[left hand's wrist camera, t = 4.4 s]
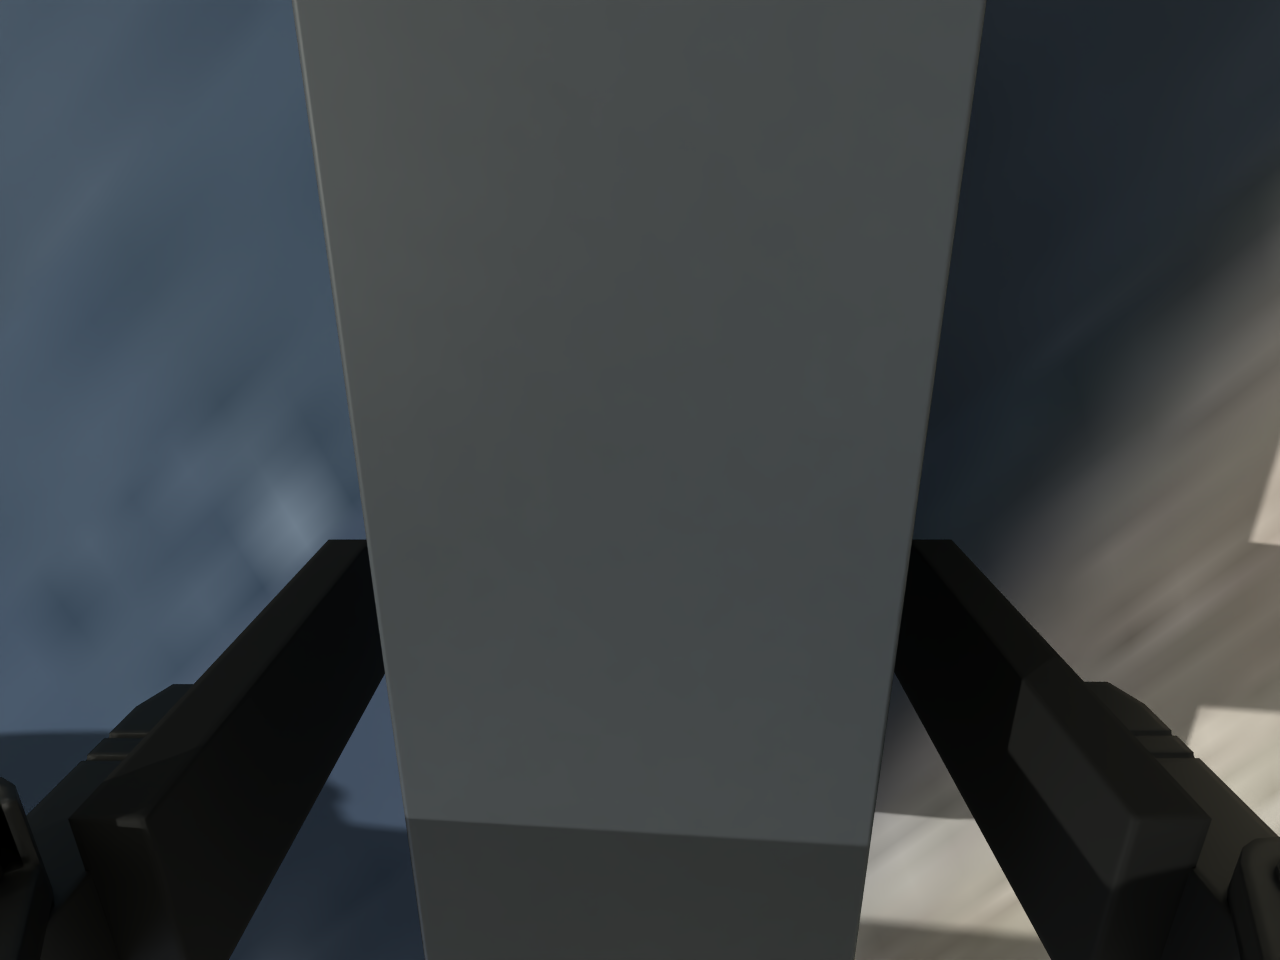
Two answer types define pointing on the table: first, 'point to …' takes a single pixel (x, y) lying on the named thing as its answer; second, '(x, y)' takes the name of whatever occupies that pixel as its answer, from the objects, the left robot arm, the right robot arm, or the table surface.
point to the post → (639, 442)
